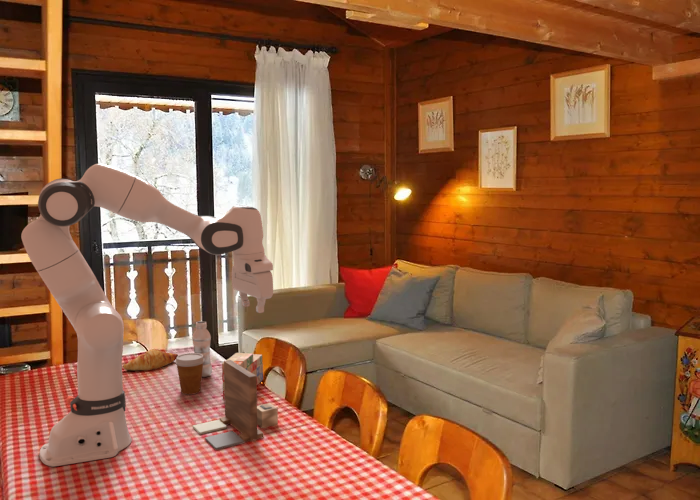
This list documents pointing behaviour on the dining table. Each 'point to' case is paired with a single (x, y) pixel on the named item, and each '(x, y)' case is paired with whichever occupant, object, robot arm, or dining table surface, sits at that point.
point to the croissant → (150, 360)
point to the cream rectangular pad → (209, 426)
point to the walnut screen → (241, 401)
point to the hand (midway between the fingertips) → (253, 309)
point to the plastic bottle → (203, 346)
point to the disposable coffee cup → (190, 372)
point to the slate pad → (224, 440)
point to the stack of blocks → (247, 365)
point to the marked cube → (267, 415)
